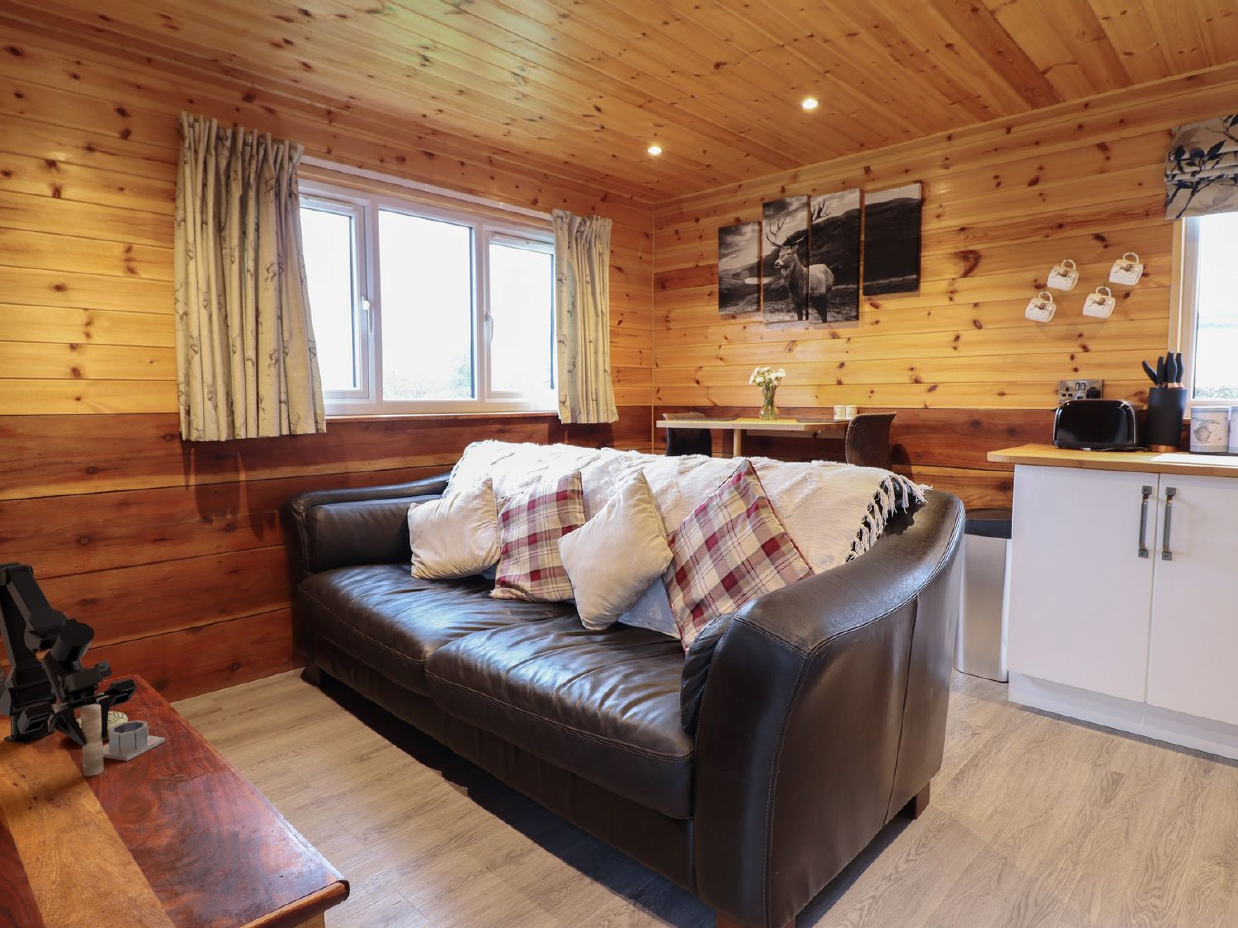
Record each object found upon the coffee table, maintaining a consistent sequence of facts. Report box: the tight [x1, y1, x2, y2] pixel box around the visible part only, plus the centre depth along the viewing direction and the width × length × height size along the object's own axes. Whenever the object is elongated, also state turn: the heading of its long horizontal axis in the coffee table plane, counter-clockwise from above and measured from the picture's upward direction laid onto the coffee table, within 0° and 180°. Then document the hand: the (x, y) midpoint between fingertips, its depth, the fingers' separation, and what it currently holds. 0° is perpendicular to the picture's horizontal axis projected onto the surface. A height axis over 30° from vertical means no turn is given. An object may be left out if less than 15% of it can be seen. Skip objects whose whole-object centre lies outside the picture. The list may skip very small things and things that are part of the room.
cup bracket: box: [103, 719, 166, 762], centre depth 152 cm, size 9×9×4 cm
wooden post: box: [79, 704, 105, 777], centre depth 142 cm, size 3×3×13 cm
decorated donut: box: [73, 710, 129, 742], centre depth 159 cm, size 10×11×4 cm
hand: (95, 741), depth 141 cm, fingers closed on wooden post, 3 cm apart
